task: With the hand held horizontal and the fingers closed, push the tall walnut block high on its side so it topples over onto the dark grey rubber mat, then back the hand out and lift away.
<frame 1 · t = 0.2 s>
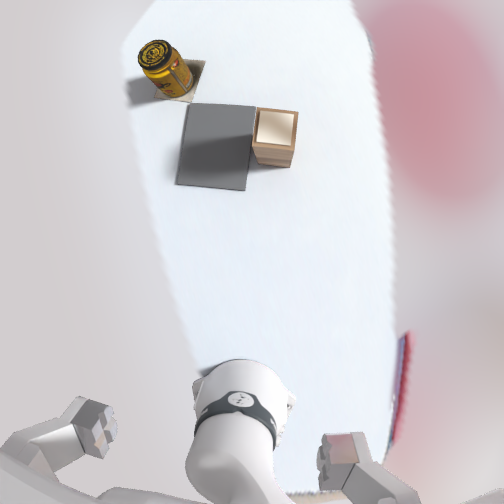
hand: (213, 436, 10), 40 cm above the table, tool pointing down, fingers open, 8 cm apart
block: (275, 150, 47), on the table
mat: (216, 144, 48), on the table
condiment: (180, 79, 47), on the table
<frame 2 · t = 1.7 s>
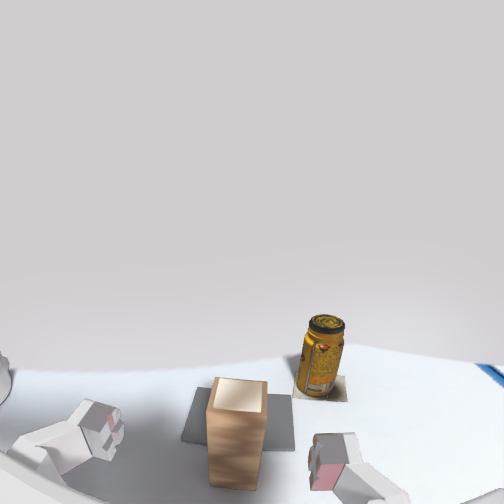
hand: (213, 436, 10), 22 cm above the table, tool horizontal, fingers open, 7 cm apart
block: (234, 472, 29), on the table
mat: (240, 419, 38), on the table
condiment: (319, 388, 46), on the table
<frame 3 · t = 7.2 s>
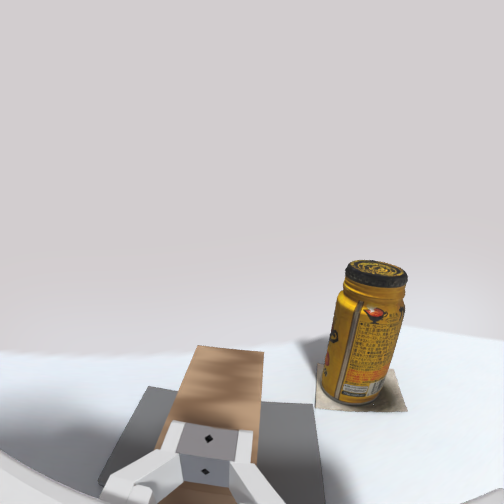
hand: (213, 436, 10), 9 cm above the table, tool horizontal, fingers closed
mat: (219, 450, 18), on the table
condiment: (358, 390, 26), on the table
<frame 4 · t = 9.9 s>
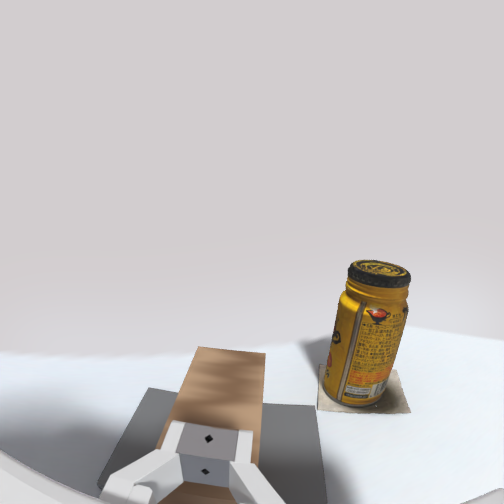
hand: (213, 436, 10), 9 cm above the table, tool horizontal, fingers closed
mat: (219, 453, 18), on the table
condiment: (361, 391, 26), on the table
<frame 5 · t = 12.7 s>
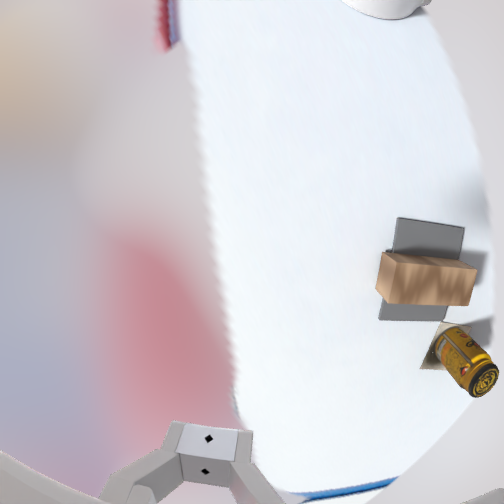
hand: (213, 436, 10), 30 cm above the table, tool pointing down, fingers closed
block: (385, 276, 35), point 3 cm above the table, tilted 90°, touching mat
mat: (422, 273, 38), on the table
condiment: (445, 346, 41), on the table
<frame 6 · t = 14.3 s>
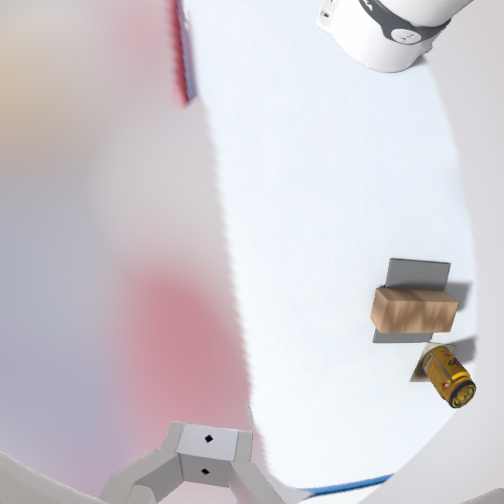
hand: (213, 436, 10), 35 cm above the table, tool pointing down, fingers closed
block: (378, 309, 42), point 3 cm above the table, tilted 90°, touching mat
mat: (411, 303, 45), on the table
condiment: (432, 362, 48), on the table
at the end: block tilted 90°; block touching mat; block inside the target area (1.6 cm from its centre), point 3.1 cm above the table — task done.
